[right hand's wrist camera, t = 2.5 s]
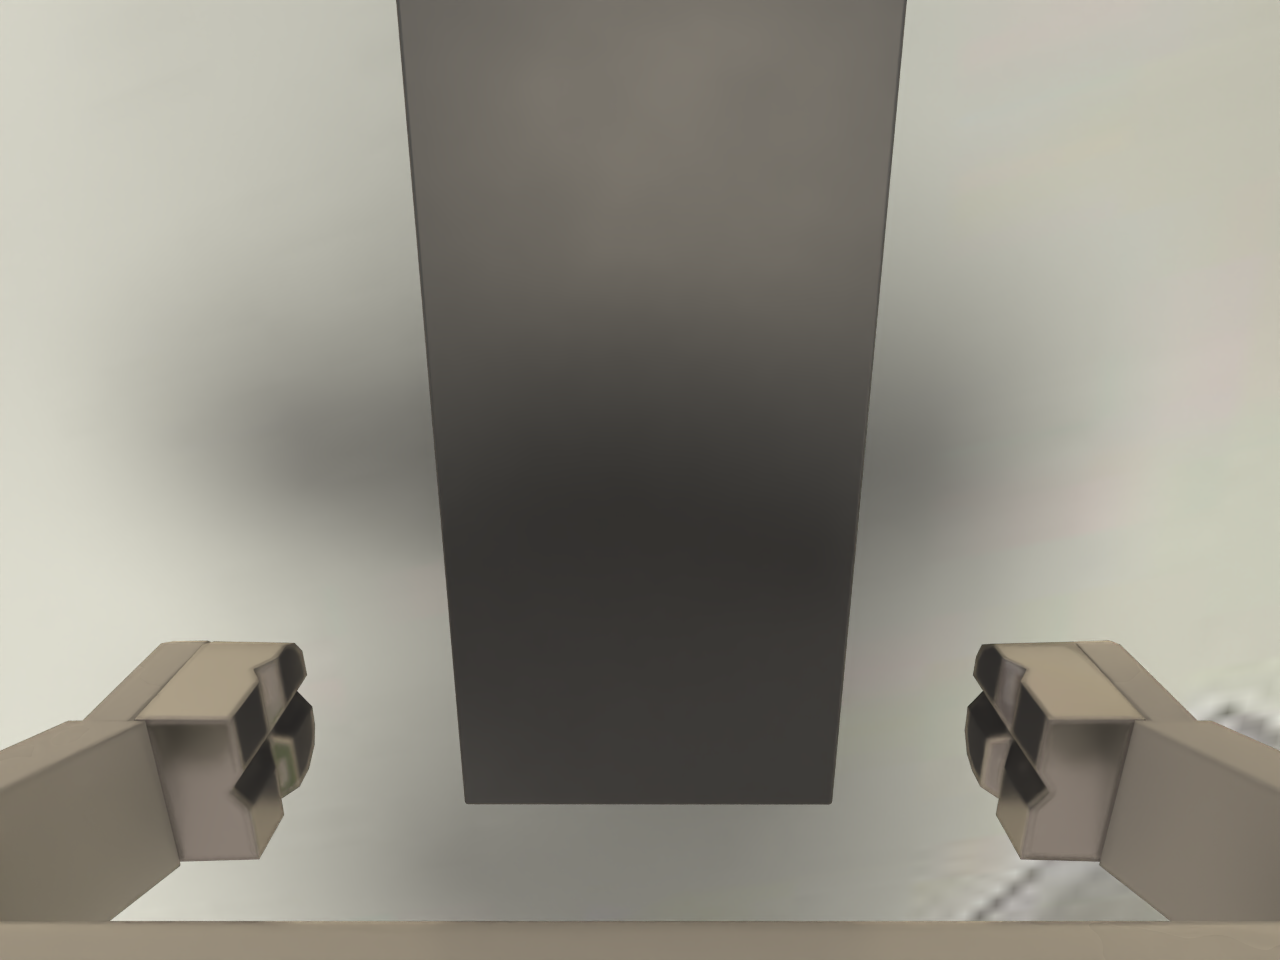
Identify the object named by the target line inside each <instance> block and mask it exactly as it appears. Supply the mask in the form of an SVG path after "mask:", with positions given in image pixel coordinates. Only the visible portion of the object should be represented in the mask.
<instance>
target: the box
mask: <svg viewBox="0 0 1280 960" xmlns="http://www.w3.org/2000/svg"><path fill="white" fill-rule="evenodd" d="M396 4H397V16H398V27H399V39H400V51H401V62H402V74H403V86H404V97H405V109H406V121H407V132H408V144H409V156H410V167H411V179H412V191H413V202H414V214H415V226H416V237H417V249H418V261H419V272H420V284H421V296H422V307H423V319H424V330H425V342H426V354H427V365H428V377H429V389H430V400H431V412H432V424H433V435H434V447H435V459H436V470H437V482H438V494H439V505H440V517H441V529H442V540H443V552H444V564H445V575H446V587H447V599H448V610H449V622H450V634H451V645H452V657H453V669H454V680H455V692H456V704H457V715H458V727H459V739H460V750H461V762H462V774H463V785H464V797H465V802H466V804H831V803H832V797H833V787H834V776H835V765H836V755H837V744H838V733H839V722H840V712H841V701H842V690H843V679H844V669H845V658H846V647H847V637H848V626H849V615H850V604H851V594H852V583H853V572H854V561H855V551H856V540H857V529H858V519H859V508H860V497H861V486H862V476H863V465H864V454H865V443H866V433H867V422H868V411H869V401H870V390H871V379H872V368H873V358H874V347H875V336H876V326H877V315H878V304H879V293H880V283H881V272H882V261H883V250H884V240H885V229H886V218H887V208H888V197H889V186H890V175H891V165H892V154H893V143H894V132H895V122H896V111H897V100H898V90H899V79H900V68H901V57H902V47H903V36H904V25H905V14H906V4H907V0H396Z"/></svg>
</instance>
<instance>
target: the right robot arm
mask: <svg viewBox="0 0 1280 960" xmlns="http://www.w3.org/2000/svg"><path fill="white" fill-rule="evenodd" d="M306 676H307V672H306V667H305V662H304V657H303V652H302V650H301V649H300V648H299V647H298V646H297V645H296V644H295V643H274V642H223V641H214V642H210V641H172V642H166V643H161V644H160V645H159V646H158V647H157V648H156V649H155V650H154V651H153V652H152V653H151V654H150V655H149V656H148V657H147V658H146V659H145V660H144V661H143V662H142V663H141V664H140V665H139V666H138V667H137V668H136V669H135V670H134V671H133V672H132V673H131V674H130V675H129V676H127V677H126V678H125V679H124V680H123V681H122V682H121V683H120V684H119V685H118V686H117V687H116V688H115V689H114V690H113V691H112V692H111V693H110V694H109V695H108V696H107V697H106V698H105V699H104V700H103V701H102V702H101V703H100V704H99V705H98V706H97V707H96V708H95V709H94V710H93V711H92V712H91V713H90V714H89V715H88V716H87V717H86V718H85V719H84V720H83V721H67V722H64V723H62V724H60V725H58V726H55V727H53V728H51V729H49V730H46V731H44V732H42V733H40V734H37V735H35V736H33V737H31V738H28V739H26V740H24V741H21V742H19V743H17V744H15V745H12V746H10V747H8V748H6V749H3V750H1V751H0V960H1280V751H1279V750H1276V749H1274V748H1272V747H1270V746H1267V745H1265V744H1263V743H1261V742H1258V741H1256V740H1254V739H1252V738H1249V737H1247V736H1245V735H1243V734H1240V733H1238V732H1236V731H1234V730H1231V729H1229V728H1227V727H1225V726H1222V725H1220V724H1218V723H1216V722H1213V721H1197V720H1196V719H1195V718H1194V717H1193V716H1192V715H1191V714H1190V713H1189V712H1188V711H1187V710H1186V709H1185V708H1184V707H1183V706H1182V705H1181V704H1180V703H1179V702H1178V701H1177V700H1176V699H1175V698H1174V697H1173V696H1172V695H1171V694H1170V693H1169V692H1168V691H1167V690H1166V689H1165V688H1164V687H1163V686H1162V685H1161V684H1160V683H1159V682H1158V681H1157V680H1156V679H1155V678H1154V677H1153V676H1152V675H1151V674H1150V673H1149V672H1148V671H1147V670H1146V669H1145V668H1144V667H1143V666H1142V665H1140V664H1139V663H1138V662H1137V661H1136V660H1135V659H1134V658H1133V657H1132V656H1131V655H1130V654H1129V653H1128V652H1127V651H1126V650H1125V649H1124V648H1123V647H1122V646H1121V645H1120V644H1117V643H1115V642H1112V641H1109V640H1105V641H1079V642H1046V643H1006V644H983V645H981V648H980V650H979V652H978V654H977V656H976V661H975V666H974V672H973V676H974V677H975V679H976V680H977V682H978V684H979V685H980V687H981V688H982V690H983V692H982V693H981V694H980V695H979V696H978V697H977V698H976V699H975V700H974V701H973V702H972V703H971V704H970V705H969V706H968V709H967V717H966V725H965V739H966V749H967V756H968V759H969V762H970V765H971V769H972V771H973V773H974V775H975V777H976V779H977V781H978V783H979V785H980V787H982V788H983V789H985V790H986V791H988V792H989V793H991V794H992V795H994V796H995V797H997V798H999V800H998V805H997V811H996V816H997V818H998V819H999V821H1000V823H1001V825H1002V827H1003V828H1004V830H1005V832H1006V834H1007V835H1008V837H1009V839H1010V841H1011V843H1012V844H1013V846H1014V848H1015V850H1016V852H1017V853H1018V855H1019V857H1020V859H1028V860H1064V861H1100V864H1099V865H1100V866H1101V867H1102V868H1104V869H1105V870H1106V871H1108V872H1109V873H1110V874H1111V875H1113V876H1114V877H1115V878H1116V879H1118V880H1119V881H1120V882H1122V883H1123V884H1124V885H1125V886H1127V887H1128V888H1129V889H1130V890H1132V891H1133V892H1134V893H1136V894H1137V895H1138V896H1139V897H1141V898H1142V899H1143V900H1144V901H1146V902H1147V903H1148V904H1150V905H1151V906H1152V907H1153V908H1155V909H1156V910H1157V911H1159V912H1160V913H1161V914H1162V915H1164V916H1165V917H1166V918H1167V919H1169V920H1170V921H110V920H112V919H113V918H114V917H115V916H117V915H118V914H119V913H120V912H122V911H123V910H124V909H126V908H127V907H128V906H129V905H131V904H132V903H133V902H135V901H136V900H137V899H138V898H140V897H141V896H142V895H143V894H145V893H146V892H147V891H149V890H150V889H151V888H152V887H154V886H155V885H156V884H157V883H159V882H160V881H161V880H163V879H164V878H165V877H166V876H168V875H169V874H170V873H172V872H173V871H174V870H175V869H177V868H178V867H179V866H180V861H215V860H250V859H260V857H261V855H262V853H263V852H264V850H265V848H266V846H267V844H268V843H269V841H270V839H271V837H272V836H273V834H274V832H275V830H276V828H277V827H278V825H279V823H280V821H281V819H282V818H283V816H284V811H283V805H282V800H281V798H283V797H285V796H286V795H288V794H289V793H291V792H292V791H294V790H295V789H297V788H298V787H300V785H301V783H302V781H303V779H304V777H305V775H306V773H307V771H308V769H309V766H310V762H311V757H312V753H313V749H314V745H315V722H314V715H313V708H312V706H311V705H310V704H309V703H308V702H307V701H306V700H305V699H304V698H303V697H302V696H301V695H300V694H299V693H298V692H297V690H298V688H299V687H300V685H301V684H302V682H303V680H304V679H305V677H306Z"/></svg>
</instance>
